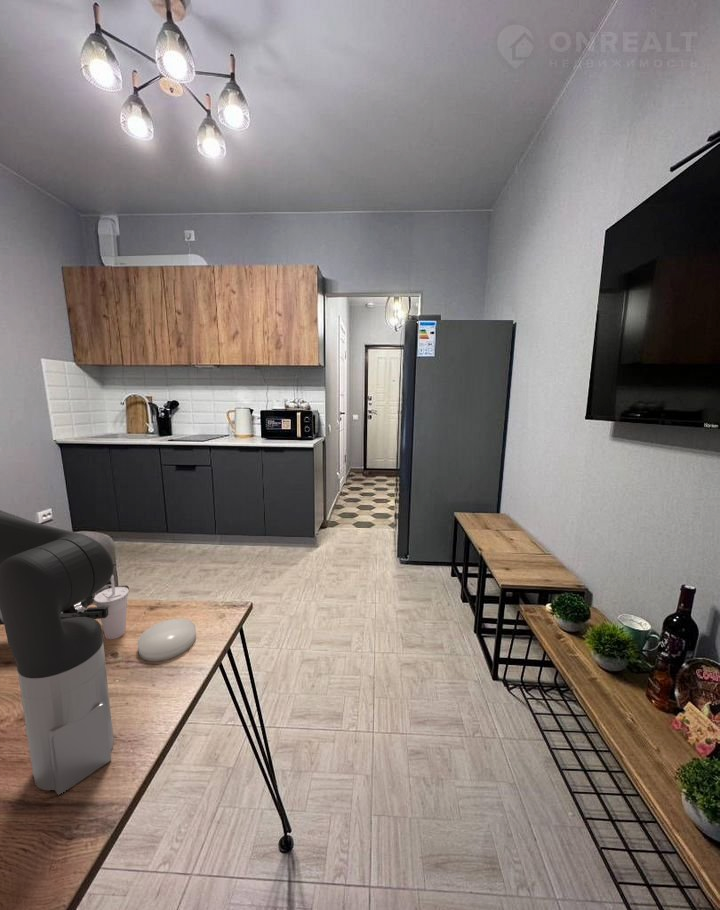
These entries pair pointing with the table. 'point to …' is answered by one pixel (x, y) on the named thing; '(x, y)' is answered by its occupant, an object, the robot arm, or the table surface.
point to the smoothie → (113, 610)
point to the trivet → (166, 639)
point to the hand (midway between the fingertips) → (118, 600)
